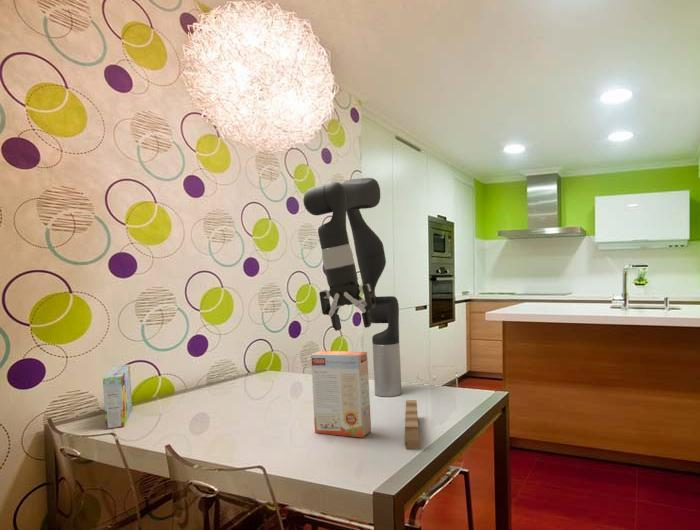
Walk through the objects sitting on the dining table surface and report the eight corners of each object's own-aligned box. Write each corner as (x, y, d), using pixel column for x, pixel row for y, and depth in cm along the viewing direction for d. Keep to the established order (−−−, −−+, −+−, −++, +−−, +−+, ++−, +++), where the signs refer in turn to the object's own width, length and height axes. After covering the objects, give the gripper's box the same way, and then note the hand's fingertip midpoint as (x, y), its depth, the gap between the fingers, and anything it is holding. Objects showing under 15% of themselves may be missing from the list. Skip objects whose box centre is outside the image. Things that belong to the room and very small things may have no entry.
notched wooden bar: (405, 417, 133) (404, 400, 133) (417, 417, 133) (416, 399, 133) (404, 448, 109) (403, 427, 110) (419, 448, 109) (418, 427, 109)
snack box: (114, 411, 155) (112, 365, 156) (132, 409, 157) (131, 363, 158) (103, 430, 135) (102, 377, 136) (125, 427, 137) (123, 375, 138)
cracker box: (372, 431, 123) (368, 350, 124) (362, 439, 118) (358, 354, 118) (325, 426, 129) (321, 349, 130) (313, 433, 124) (310, 353, 124)
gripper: (371, 258, 116) (384, 322, 117) (323, 266, 123) (336, 326, 124) (357, 262, 110) (371, 330, 111) (307, 271, 117) (321, 334, 118)
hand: (352, 328), depth 117 cm, fingers open, 8 cm apart
